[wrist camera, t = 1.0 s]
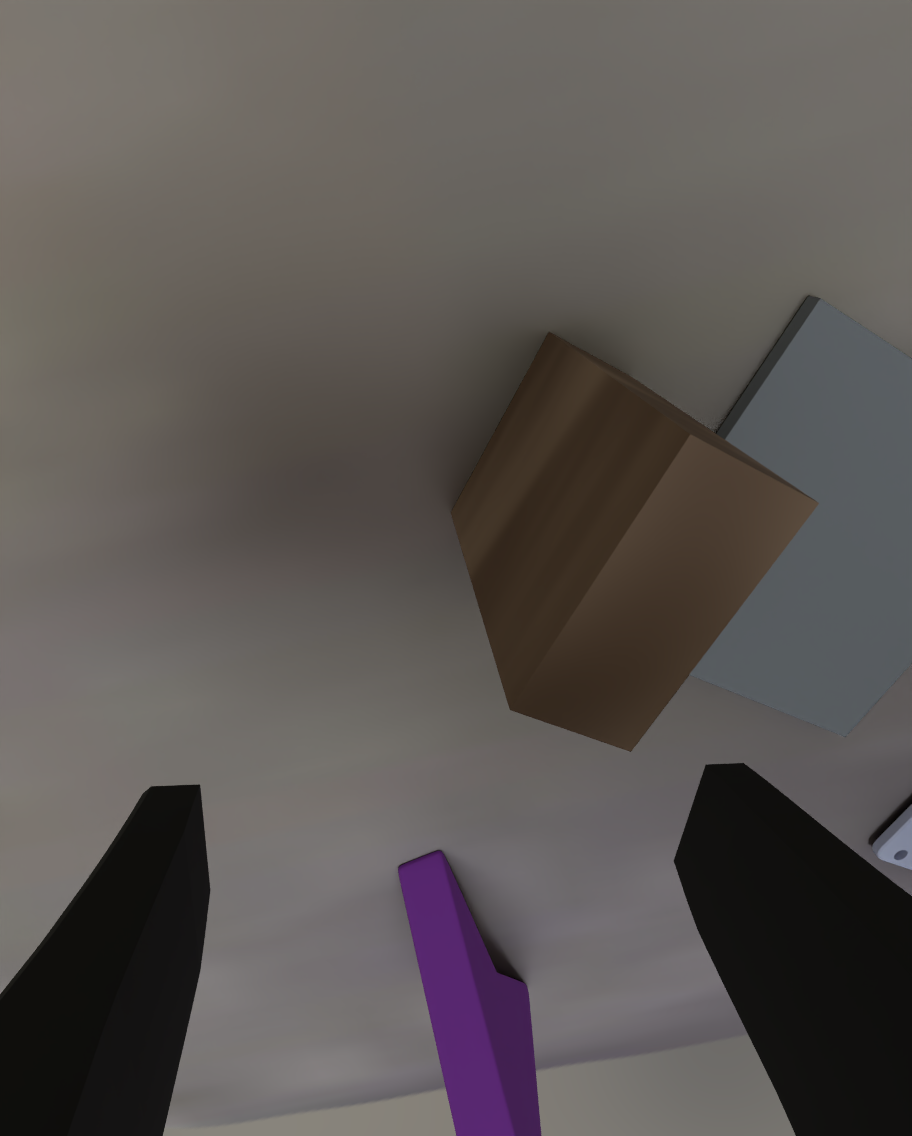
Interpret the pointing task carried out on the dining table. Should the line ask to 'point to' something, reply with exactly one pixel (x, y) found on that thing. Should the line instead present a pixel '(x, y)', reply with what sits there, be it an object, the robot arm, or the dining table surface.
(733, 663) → the rubber mat
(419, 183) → the dining table surface
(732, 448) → the tall wooden plank
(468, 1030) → the arrowhead
